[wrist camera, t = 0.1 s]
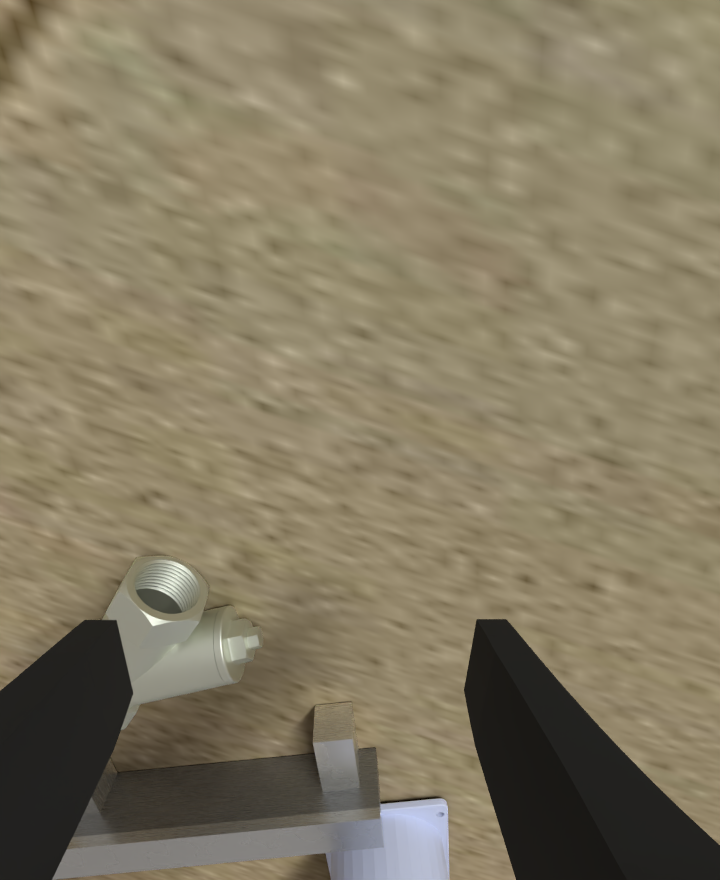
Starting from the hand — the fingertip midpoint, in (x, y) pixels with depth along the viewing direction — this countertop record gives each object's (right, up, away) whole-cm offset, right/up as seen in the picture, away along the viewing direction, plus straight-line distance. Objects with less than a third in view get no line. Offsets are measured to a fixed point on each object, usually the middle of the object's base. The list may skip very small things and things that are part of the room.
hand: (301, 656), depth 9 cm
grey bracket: (-7, -14, +16) cm, 22 cm away
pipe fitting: (-8, -5, +13) cm, 16 cm away
